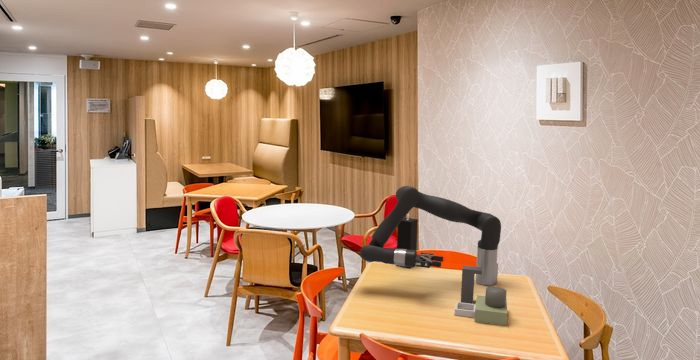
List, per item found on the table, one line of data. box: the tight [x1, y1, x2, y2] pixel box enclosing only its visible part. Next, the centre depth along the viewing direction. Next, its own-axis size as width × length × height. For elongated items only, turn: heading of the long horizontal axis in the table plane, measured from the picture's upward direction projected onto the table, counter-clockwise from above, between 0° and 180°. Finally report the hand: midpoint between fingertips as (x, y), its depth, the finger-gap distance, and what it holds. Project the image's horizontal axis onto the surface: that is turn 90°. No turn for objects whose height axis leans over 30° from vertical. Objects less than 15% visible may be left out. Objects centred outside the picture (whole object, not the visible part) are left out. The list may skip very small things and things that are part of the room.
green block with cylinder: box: [453, 286, 508, 326], centre depth 207 cm, size 20×16×11 cm
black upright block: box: [395, 213, 419, 269], centre depth 268 cm, size 8×8×28 cm
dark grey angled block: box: [460, 264, 482, 304], centre depth 220 cm, size 8×5×15 cm, turn 74°
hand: (442, 261), depth 222 cm, fingers open, 8 cm apart
